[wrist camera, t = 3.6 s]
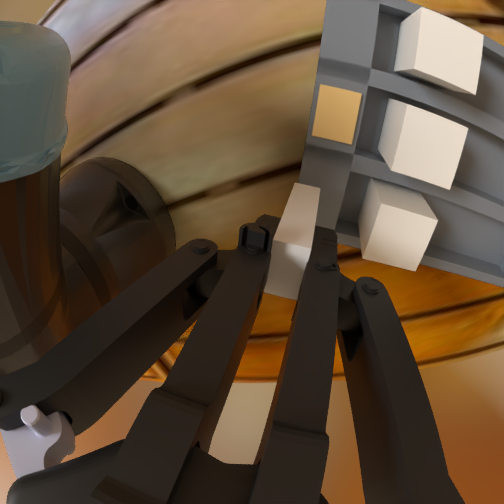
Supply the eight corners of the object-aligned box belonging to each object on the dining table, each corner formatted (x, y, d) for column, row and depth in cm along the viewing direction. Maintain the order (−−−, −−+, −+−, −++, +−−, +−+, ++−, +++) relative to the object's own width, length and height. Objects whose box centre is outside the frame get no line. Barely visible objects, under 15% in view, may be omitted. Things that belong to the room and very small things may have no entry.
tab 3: (357, 220, 21) (362, 258, 17) (370, 174, 18) (381, 203, 14) (401, 231, 20) (415, 271, 16) (417, 188, 18) (438, 220, 14)
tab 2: (377, 148, 17) (391, 170, 13) (388, 98, 15) (407, 103, 11) (425, 163, 17) (449, 190, 13) (437, 115, 15) (468, 128, 11)
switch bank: (295, 210, 23) (288, 233, 20) (329, -4, 13) (328, -20, 10) (508, 270, 20) (523, 294, 17) (566, 107, 10) (591, 117, 7)
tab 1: (393, 71, 14) (413, 68, 10) (400, 23, 12) (421, 6, 8) (443, 89, 14) (475, 95, 10) (450, 42, 12) (483, 35, 8)
